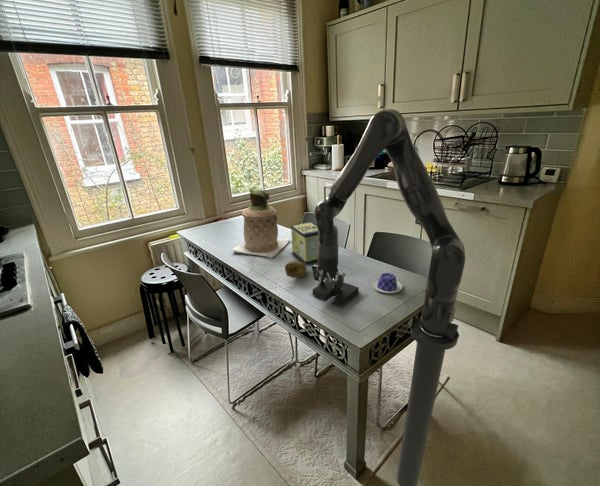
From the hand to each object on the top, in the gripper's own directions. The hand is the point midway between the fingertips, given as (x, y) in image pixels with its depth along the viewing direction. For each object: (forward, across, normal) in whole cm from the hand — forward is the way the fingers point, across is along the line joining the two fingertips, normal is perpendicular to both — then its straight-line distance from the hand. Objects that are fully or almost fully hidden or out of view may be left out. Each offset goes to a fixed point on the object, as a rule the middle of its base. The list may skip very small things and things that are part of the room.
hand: (327, 293), depth 122 cm
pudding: (+3, -14, -23) cm, 27 cm away
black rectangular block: (0, 0, 0) cm, 0 cm away
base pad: (+3, 0, -6) cm, 6 cm away
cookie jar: (+3, +59, -22) cm, 63 cm away
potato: (+3, +22, -8) cm, 24 cm away
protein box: (+3, +31, -27) cm, 41 cm away
